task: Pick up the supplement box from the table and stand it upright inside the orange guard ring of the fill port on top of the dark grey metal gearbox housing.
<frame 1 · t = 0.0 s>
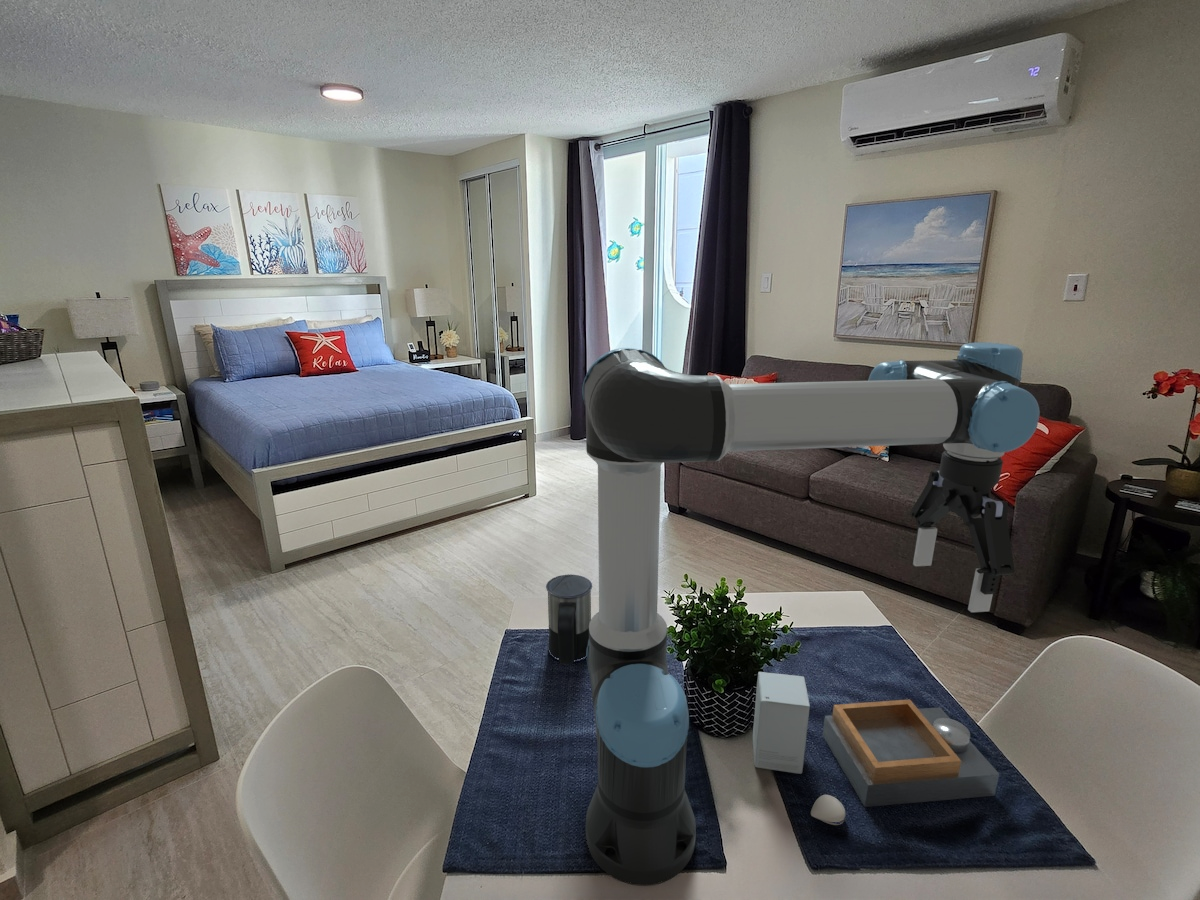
hand: (948, 586, 94), 28 cm above the table, tool pointing down, fingers open, 13 cm apart
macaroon: (825, 818, 88), on the table
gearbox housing: (903, 763, 97), on the table
milk frother: (589, 654, 124), on the table
supplement box: (776, 754, 99), on the table
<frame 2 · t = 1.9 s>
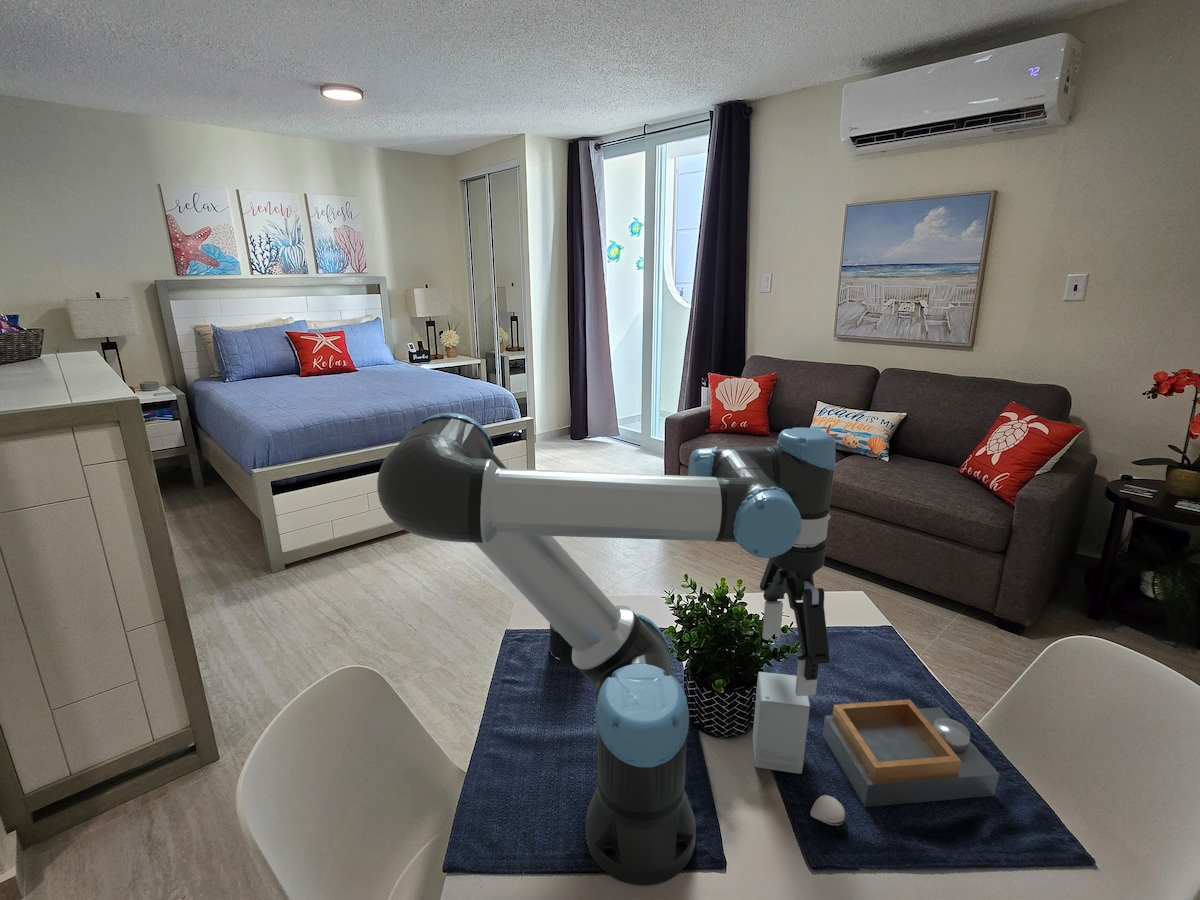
hand: (787, 664, 94), 17 cm above the table, tool pointing down, fingers open, 13 cm apart
nothing on the table moved.
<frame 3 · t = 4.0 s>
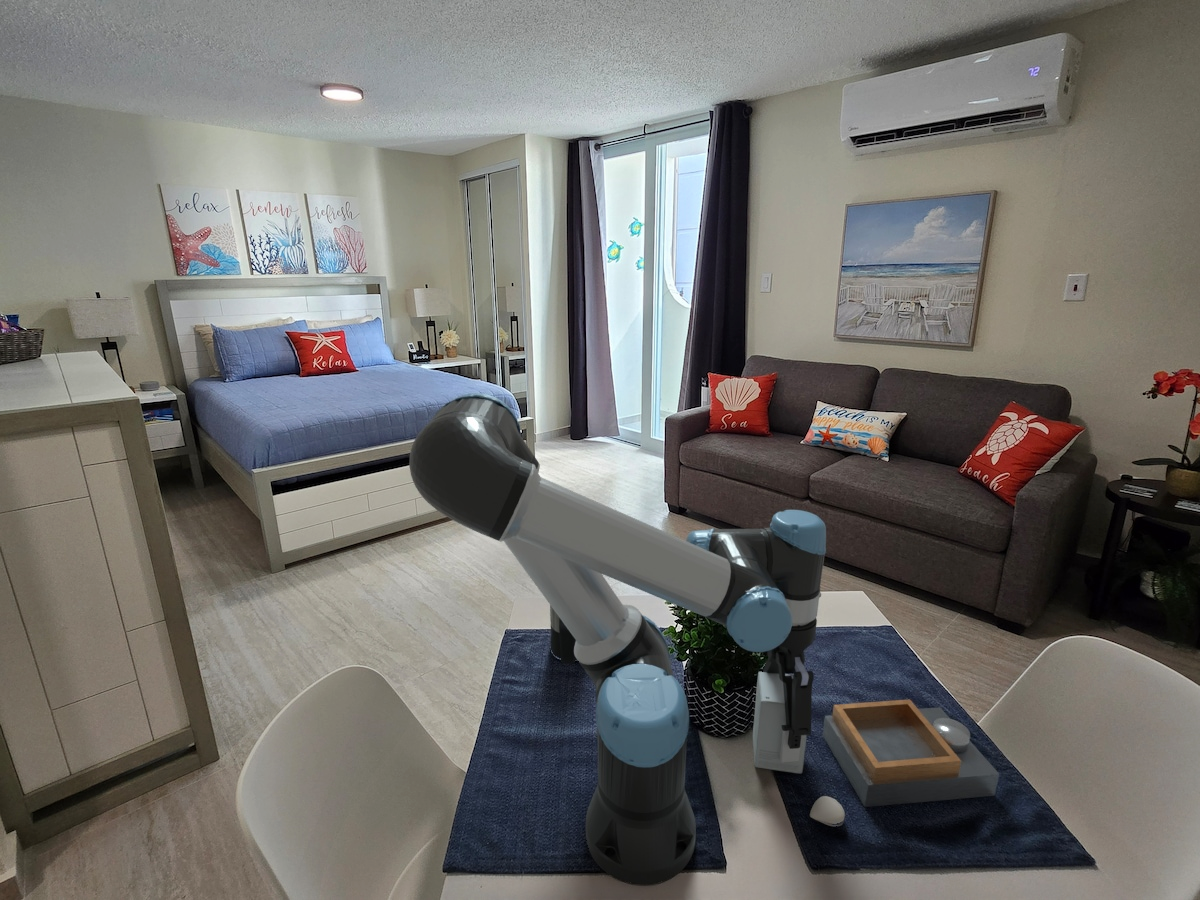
hand: (778, 737, 98), 3 cm above the table, tool pointing down, fingers closed on supplement box, 8 cm apart
supplement box: (776, 754, 99), on the table, touching gripper
everything else where it was.
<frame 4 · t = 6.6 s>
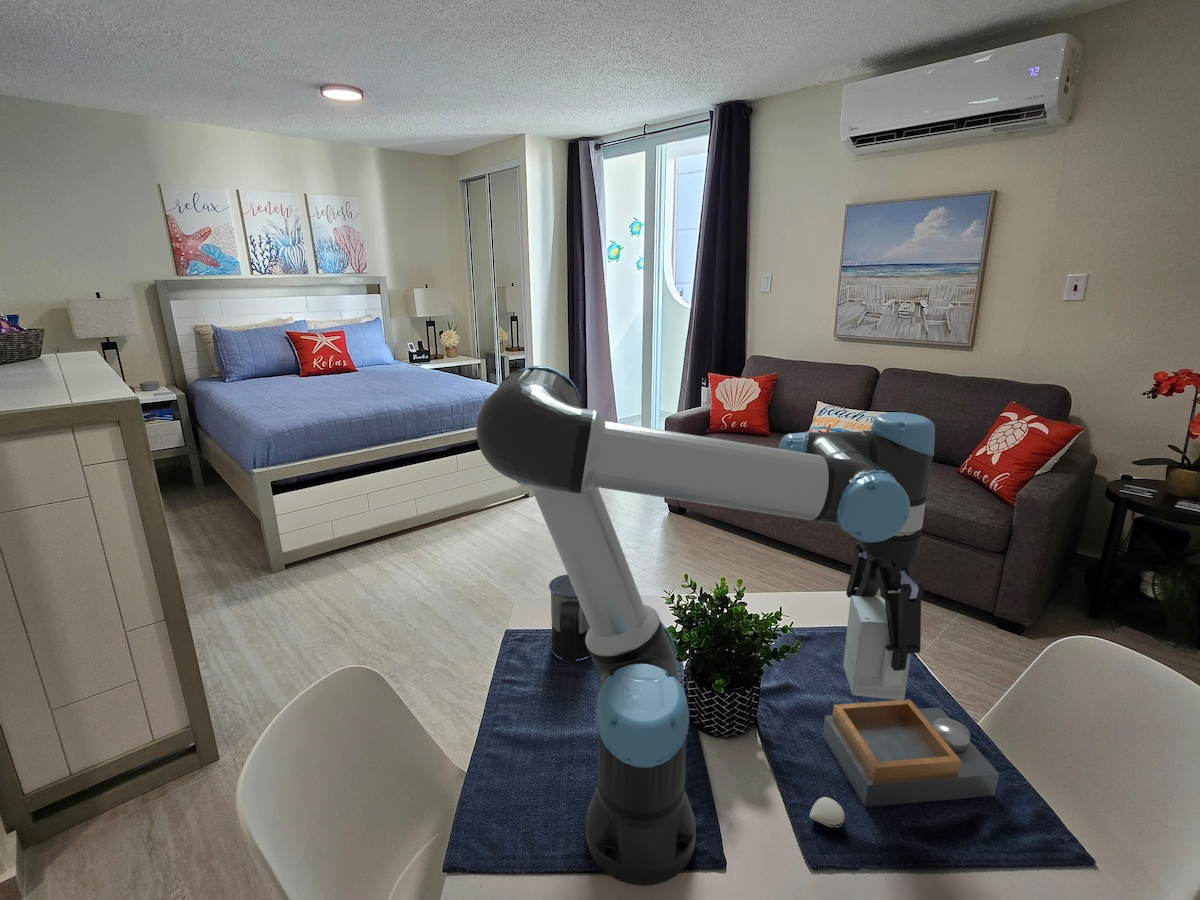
hand: (874, 664, 92), 18 cm above the table, tool pointing down, fingers closed on supplement box, 8 cm apart
supplement box: (872, 683, 93), point 15 cm above the table, touching gripper
everything else where it was.
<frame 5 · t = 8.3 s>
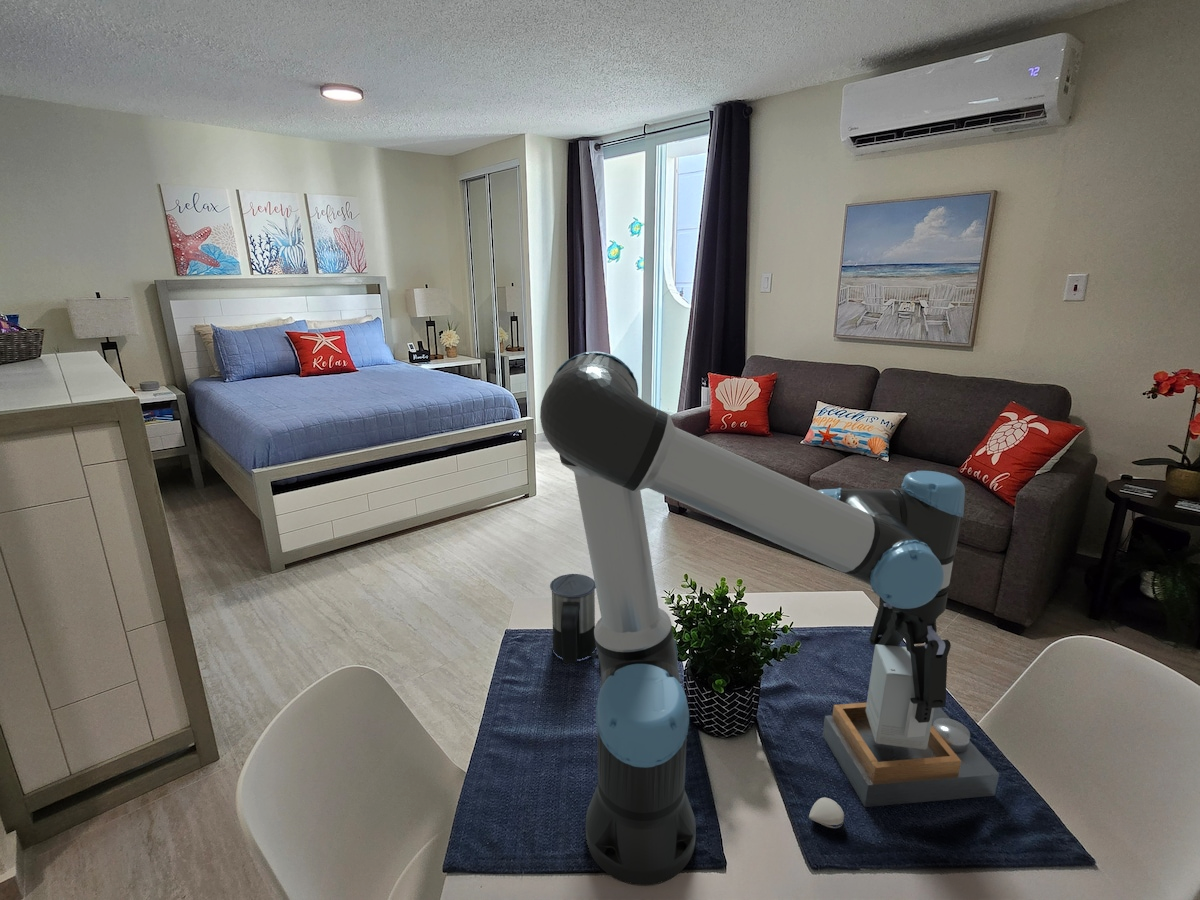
hand: (897, 712, 93), 10 cm above the table, tool pointing down, fingers closed on supplement box, 8 cm apart
supplement box: (894, 730, 94), point 7 cm above the table, touching gripper
everything else where it was.
when the fingers open (9 cm above the table, at t = 9.4 s): supplement box drops 1 cm, resting on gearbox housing.
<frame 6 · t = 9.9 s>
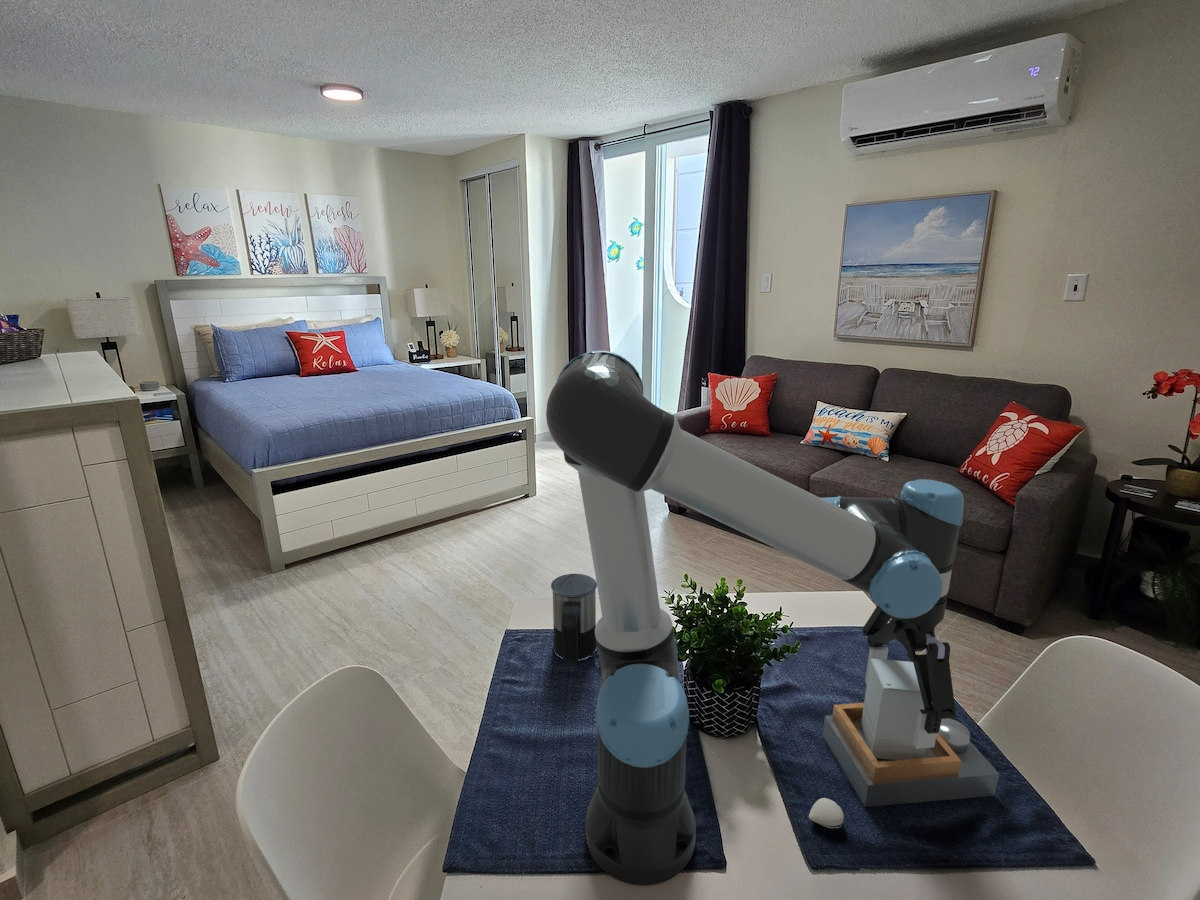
hand: (896, 712, 93), 10 cm above the table, tool pointing down, fingers open, 13 cm apart
supplement box: (890, 744, 95), point 4 cm above the table, touching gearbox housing
everything else where it was.
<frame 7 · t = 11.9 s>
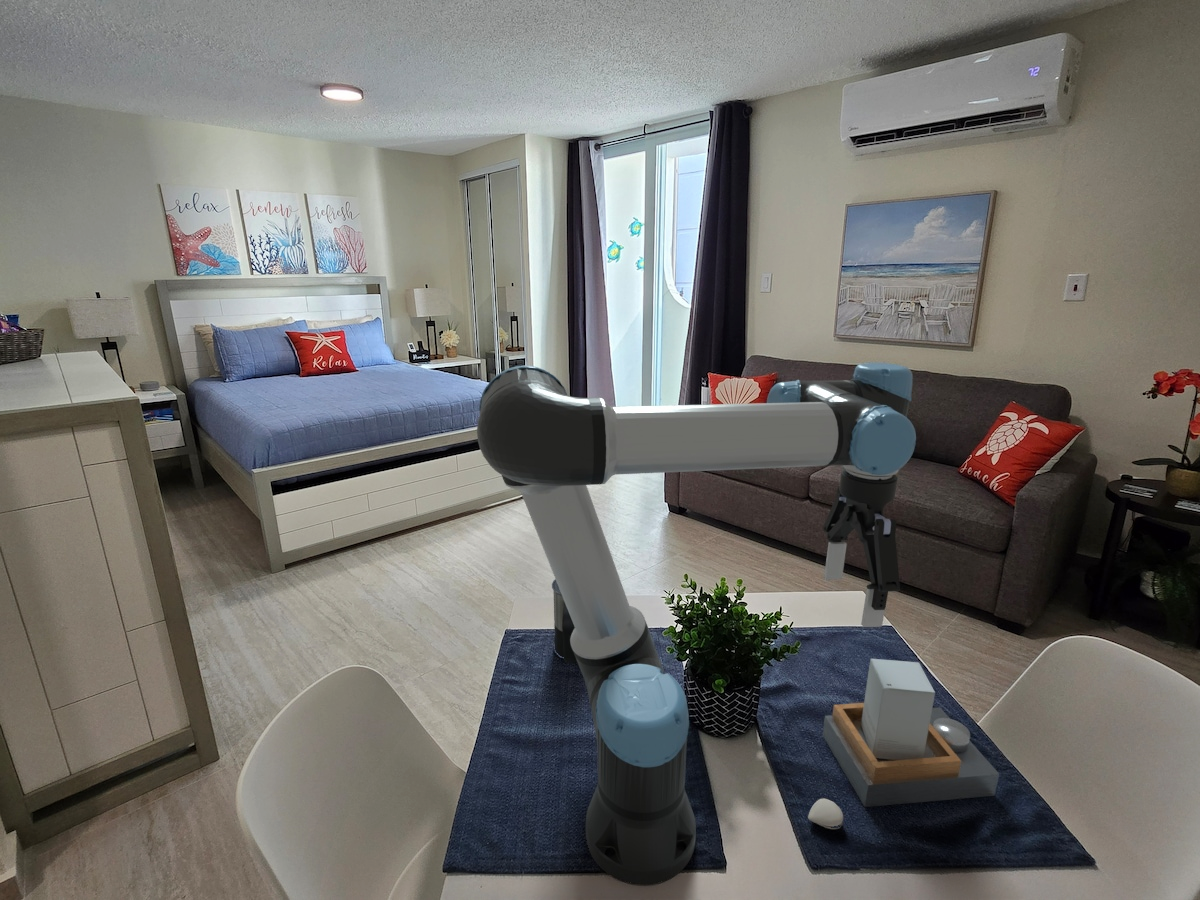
hand: (850, 600, 95), 25 cm above the table, tool pointing down, fingers open, 13 cm apart
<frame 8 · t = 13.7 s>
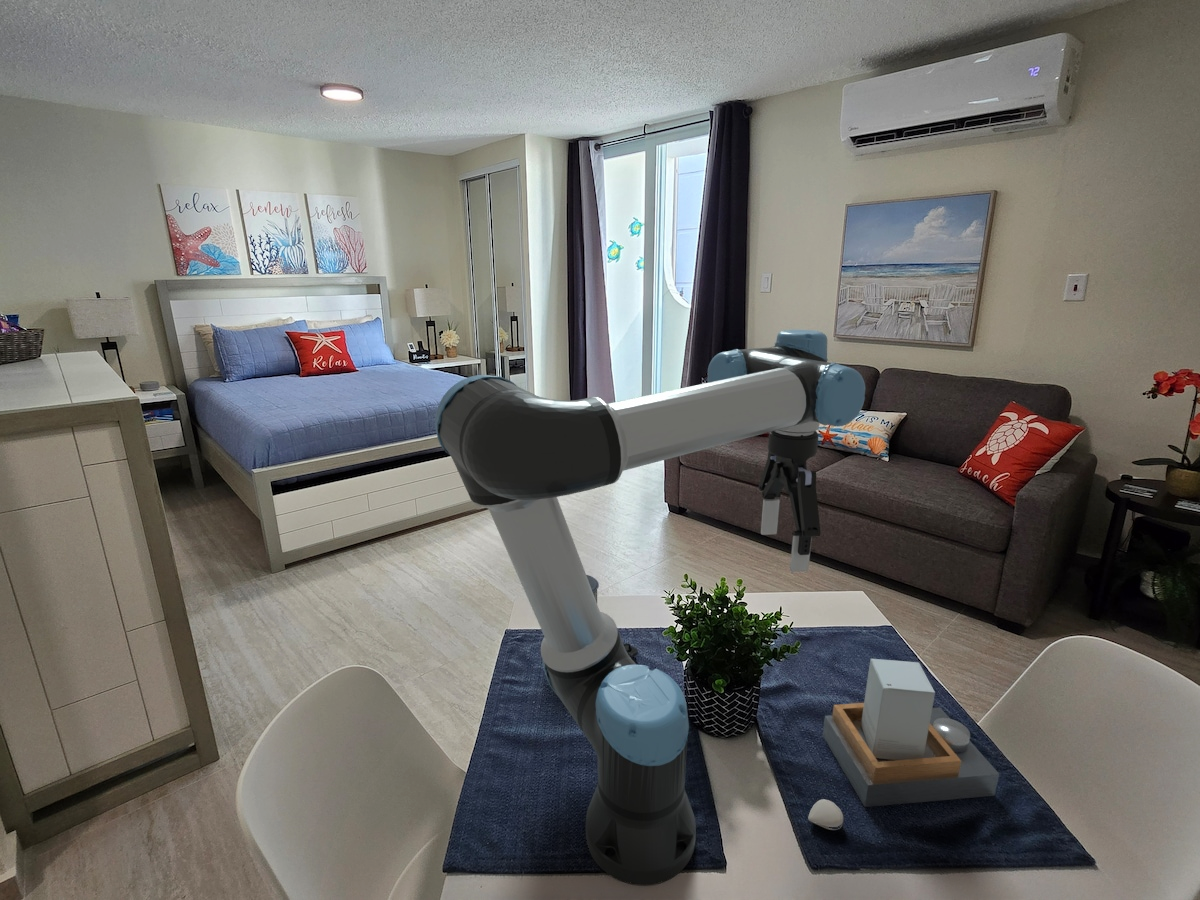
hand: (782, 551, 104), 29 cm above the table, tool pointing down, fingers open, 13 cm apart
at the end: supplement box 0.3 cm from the target spot on the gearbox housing, point 3.8 cm above the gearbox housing's base; supplement box tilted 0°; the gripper is holding nothing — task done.
